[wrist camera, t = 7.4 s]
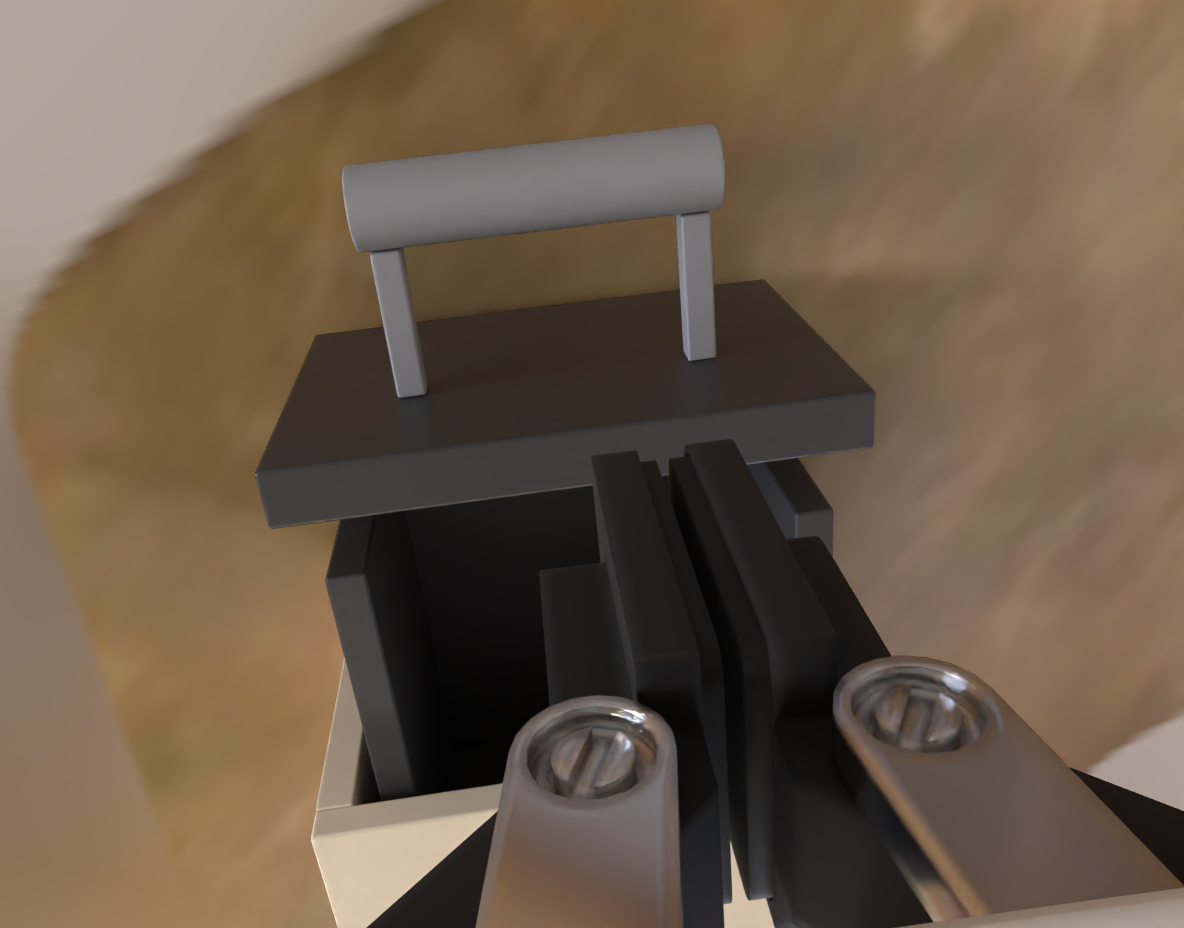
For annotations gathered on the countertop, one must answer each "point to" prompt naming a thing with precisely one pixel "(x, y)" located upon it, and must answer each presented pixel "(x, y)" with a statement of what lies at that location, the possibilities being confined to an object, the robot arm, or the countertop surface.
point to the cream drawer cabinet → (409, 831)
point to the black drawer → (525, 430)
